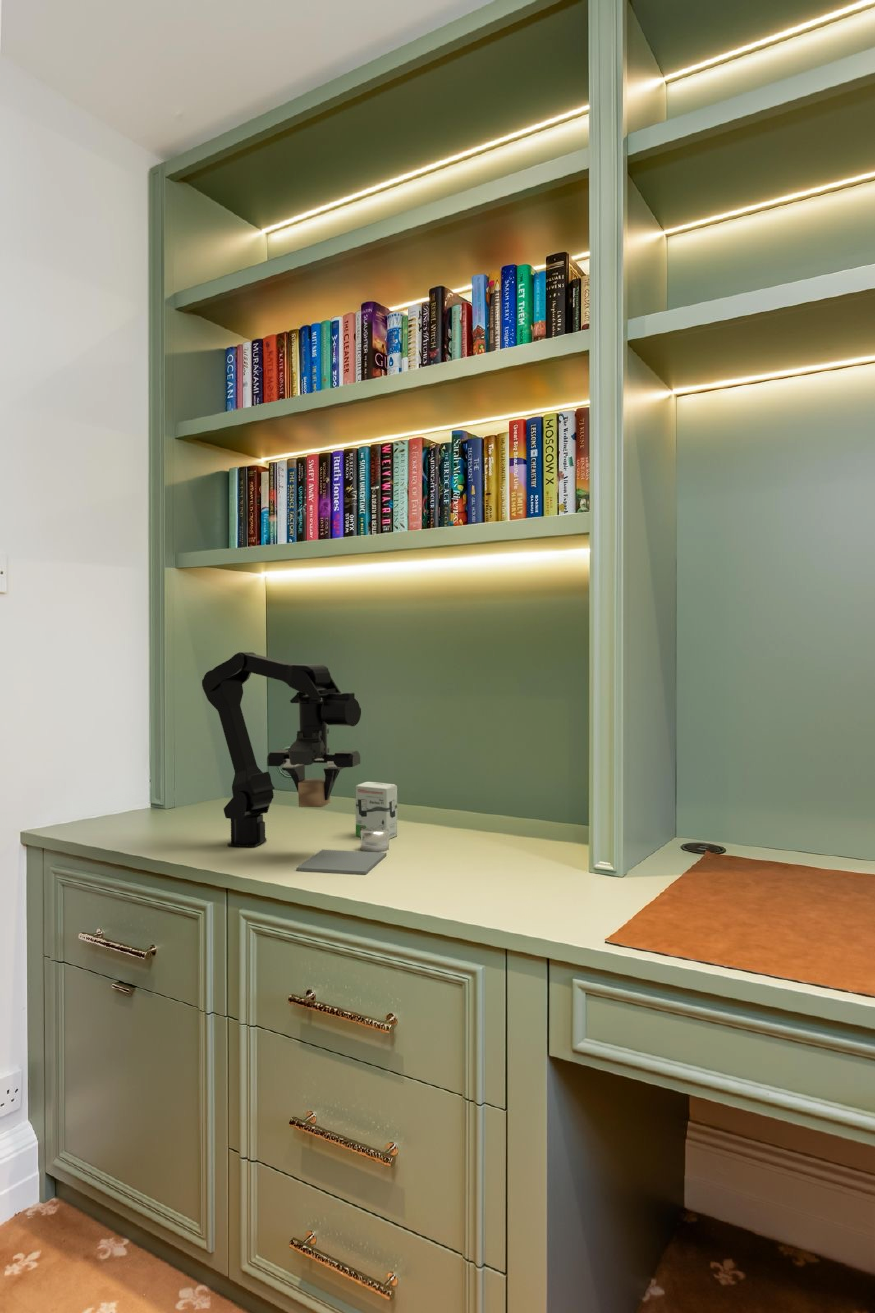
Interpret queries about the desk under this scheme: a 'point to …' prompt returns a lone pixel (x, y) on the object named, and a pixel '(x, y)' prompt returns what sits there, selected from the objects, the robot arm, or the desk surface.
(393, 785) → the ink box
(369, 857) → the mat
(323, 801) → the walnut block
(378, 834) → the tin
